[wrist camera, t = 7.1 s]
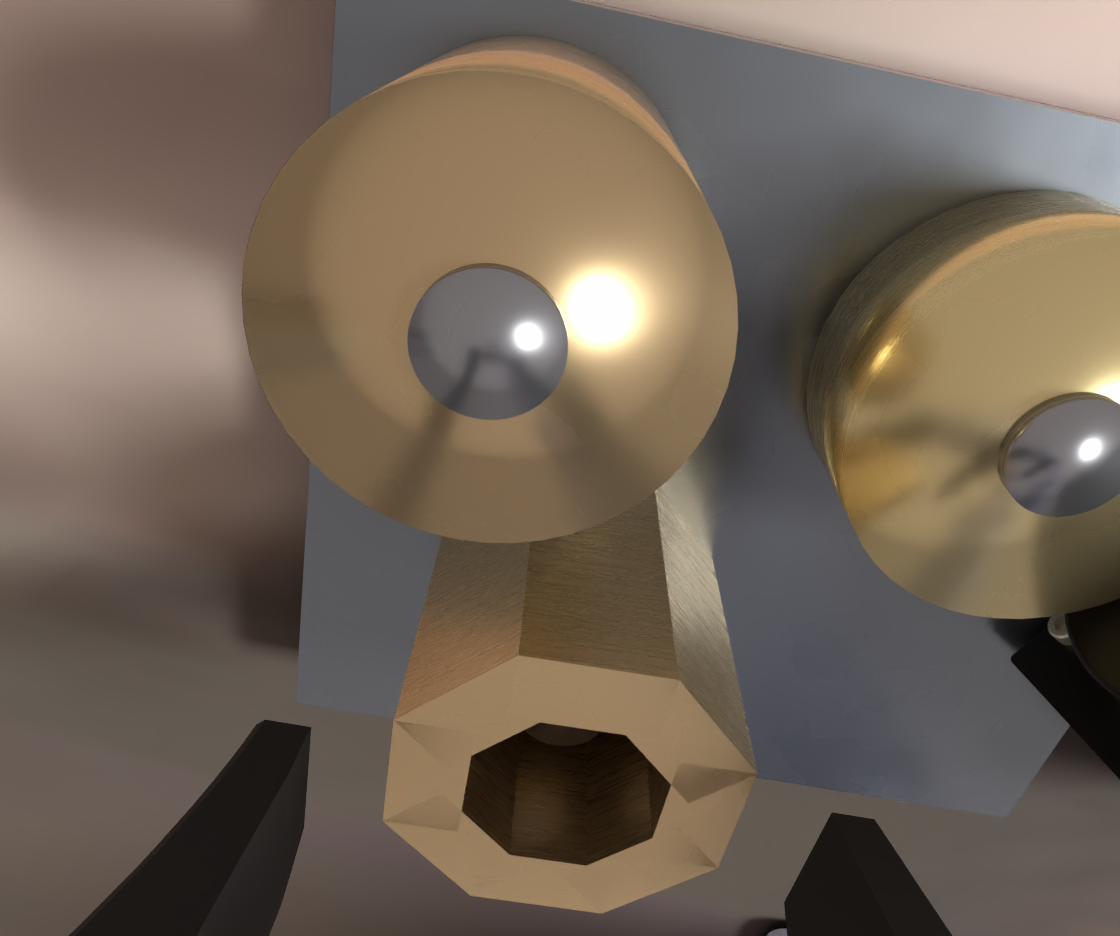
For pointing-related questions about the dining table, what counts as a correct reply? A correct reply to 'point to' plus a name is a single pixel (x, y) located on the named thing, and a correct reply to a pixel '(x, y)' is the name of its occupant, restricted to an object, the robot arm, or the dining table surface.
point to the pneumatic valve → (1081, 674)
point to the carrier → (707, 362)
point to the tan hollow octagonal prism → (572, 716)
